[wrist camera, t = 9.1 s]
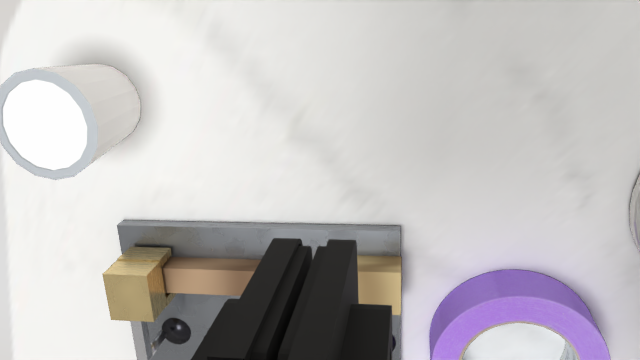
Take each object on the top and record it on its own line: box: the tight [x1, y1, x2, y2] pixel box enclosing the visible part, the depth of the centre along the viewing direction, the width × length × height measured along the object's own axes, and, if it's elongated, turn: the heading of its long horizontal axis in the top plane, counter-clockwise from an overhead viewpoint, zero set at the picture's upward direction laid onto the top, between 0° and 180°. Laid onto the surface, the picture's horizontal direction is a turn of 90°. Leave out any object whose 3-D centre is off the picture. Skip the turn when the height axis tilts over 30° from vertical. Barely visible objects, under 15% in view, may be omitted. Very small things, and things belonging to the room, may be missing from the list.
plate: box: [117, 220, 400, 360], centre depth 43 cm, size 21×14×1 cm, turn 93°
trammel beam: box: [110, 255, 402, 315], centre depth 41 cm, size 21×7×2 cm, turn 93°
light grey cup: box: [0, 64, 141, 180], centre depth 37 cm, size 7×7×7 cm
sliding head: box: [103, 247, 177, 360], centre depth 41 cm, size 3×8×4 cm, turn 3°
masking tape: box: [430, 270, 611, 360], centre depth 40 cm, size 12×12×4 cm
